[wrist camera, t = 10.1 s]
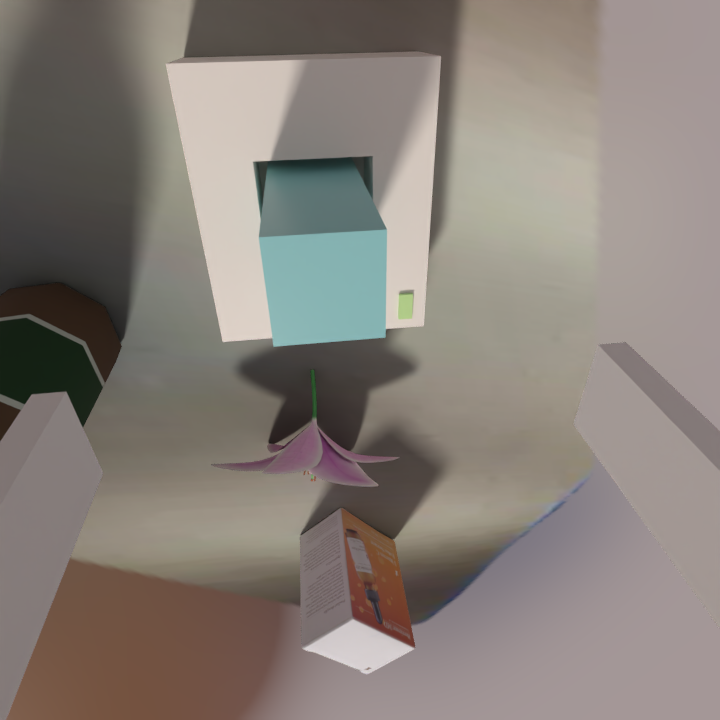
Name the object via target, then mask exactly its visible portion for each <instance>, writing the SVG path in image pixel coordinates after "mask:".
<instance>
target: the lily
mask: <svg viewBox="0 0 720 720" xmlns="http://www.w3.org/2000/svg"><path fill="white" fill-rule="evenodd" d="M310 372H311V384H312V399H313V413H312V421H311V424H310V425H309V426H308V427H307V428H306V429H305V430H303V431H302V432H301V433H300V434H299V435H297V436H296V437H295V438H294V439H292V440H291V441H290V442H288V443H287V444H286V445H285V446H281V445H276V444H268V445H267V447H268V450H269V451H270V452H276V451H279V450H281V449H283V450H282V451H281V453H280V454H278V455H275V456H273V457H270V458H267V459H264V460H260V461H254V462H247V463H230V464H212V466H214V467H218V468H223V469H229V470H237V471H261V470H264V471H263V472H262V473H264V474H287V473H295V472H302V471H304V475H305V473H306V471H307V470H308V474H309V472H310V473H311V481H313V475H314V481H315V479H316V477H317V478H319V479H322V480H325V481H328V482H331V483H337V484H342V485H350V486H361V487H376V486H379V485H378V484H377V483H376V482H375V481H373V480H372V479H371V478H369V477H368V475H367V474H366V473H365V472H364V471H363V470H362V469H361V467H360V466H359V465H358V464H357V463H356V462H360V463H375V462H384V461H390V460H395V459H398V458H400V457H381V456H366V455H359V454H355V453H353V452H352V451H347V450H345V449H344V448H342V447H340V446H339V445H338V444H336V443H335V442H334V441H332V440H331V439H330V438H329V437H328V436H327V435H326V434H325V433H323V432H322V431H321V430H320V429H319V427H318V426H317V398H316V384H315V372H314V370H311V371H310Z"/></svg>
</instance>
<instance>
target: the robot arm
mask: <svg viewBox="0 0 720 720" xmlns="http://www.w3.org/2000/svg"><path fill="white" fill-rule="evenodd" d="M574 426H575V427H576V428H577V430H578V431H579V433H580V434H581V435H582V437H583V438H584V440H585V441H586V442H587V444H588V445H589V447H590V448H591V449H592V451H593V452H594V454H595V455H596V456H597V458H598V459H599V461H600V462H601V463H602V465H603V466H604V468H605V469H606V470H607V472H608V473H609V475H610V476H611V477H612V478H613V480H614V482H615V483H616V484H617V486H618V487H619V488H620V490H621V491H622V493H623V494H624V495H625V497H626V498H627V500H628V501H629V503H630V504H631V505H632V507H633V508H634V509H635V511H636V512H637V514H638V515H639V516H640V518H641V519H642V521H643V522H644V523H645V525H646V526H647V528H648V529H649V530H650V532H651V533H652V535H653V536H654V537H655V539H656V540H657V542H658V543H659V544H660V546H661V547H662V549H663V550H664V551H665V553H666V554H667V556H668V557H669V558H670V560H671V561H672V562H673V564H674V565H675V567H676V568H677V570H678V571H679V572H680V574H681V575H682V577H683V578H684V579H685V581H686V582H687V584H688V585H689V586H690V588H691V589H692V590H693V592H694V593H695V595H696V596H697V598H698V599H699V600H700V602H701V603H702V604H703V606H704V607H705V609H706V610H707V611H708V613H709V614H710V615H711V617H712V618H713V620H714V621H715V623H716V624H717V625H718V627H719V628H720V431H719V430H718V429H717V428H716V427H715V426H714V425H713V424H712V423H711V422H710V421H709V420H708V419H707V418H705V417H704V416H703V415H702V414H701V413H700V412H699V411H698V410H697V409H696V408H695V407H693V405H692V404H691V403H690V402H688V401H687V400H686V399H685V398H684V397H683V396H682V395H681V394H680V393H679V392H678V391H677V390H675V388H674V387H673V386H672V385H670V384H669V383H668V382H667V381H666V380H665V379H664V378H663V377H662V376H661V375H660V374H659V373H658V372H657V371H656V370H655V369H654V368H652V367H651V366H650V365H649V364H648V363H647V362H646V361H645V360H644V359H643V358H642V357H641V356H640V355H639V354H638V353H637V352H636V351H634V349H632V348H631V347H630V346H629V345H628V344H627V343H626V342H623V343H612V344H600V345H598V346H597V350H596V353H595V356H594V359H593V363H592V366H591V369H590V372H589V376H588V379H587V382H586V385H585V389H584V392H583V395H582V398H581V401H580V405H579V408H578V411H577V414H576V418H575V421H574ZM102 475H103V472H102V469H101V467H100V465H99V463H98V460H97V458H96V456H95V454H94V452H93V449H92V447H91V445H90V443H89V441H88V438H87V436H86V434H85V432H84V430H83V427H82V425H81V423H80V421H79V419H78V416H77V414H76V412H75V410H74V408H73V405H72V403H71V401H70V399H69V397H68V394H67V392H55V393H43V394H32V395H31V396H30V398H29V399H28V401H27V402H26V404H25V405H24V407H23V408H22V410H21V411H20V413H19V414H18V416H17V417H16V419H15V420H14V422H13V423H12V425H11V426H10V428H9V429H8V431H7V432H6V434H5V435H4V437H3V438H2V440H1V441H0V720H6V718H7V716H8V713H9V711H10V708H11V706H12V703H13V700H14V698H15V696H16V693H17V690H18V688H19V685H20V683H21V680H22V678H23V675H24V673H25V670H26V668H27V665H28V663H29V660H30V657H31V655H32V652H33V650H34V647H35V645H36V642H37V640H38V637H39V635H40V632H41V630H42V627H43V624H44V622H45V619H46V617H47V614H48V612H49V609H50V607H51V604H52V602H53V599H54V596H55V594H56V591H57V589H58V586H59V584H60V581H61V579H62V576H63V574H64V571H65V569H66V566H67V564H68V561H69V559H70V556H71V553H72V551H73V548H74V546H75V543H76V541H77V538H78V536H79V533H80V531H81V528H82V526H83V523H84V520H85V518H86V515H87V513H88V510H89V508H90V505H91V503H92V500H93V498H94V495H95V493H96V490H97V487H98V485H99V482H100V480H101V477H102Z"/></svg>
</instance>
